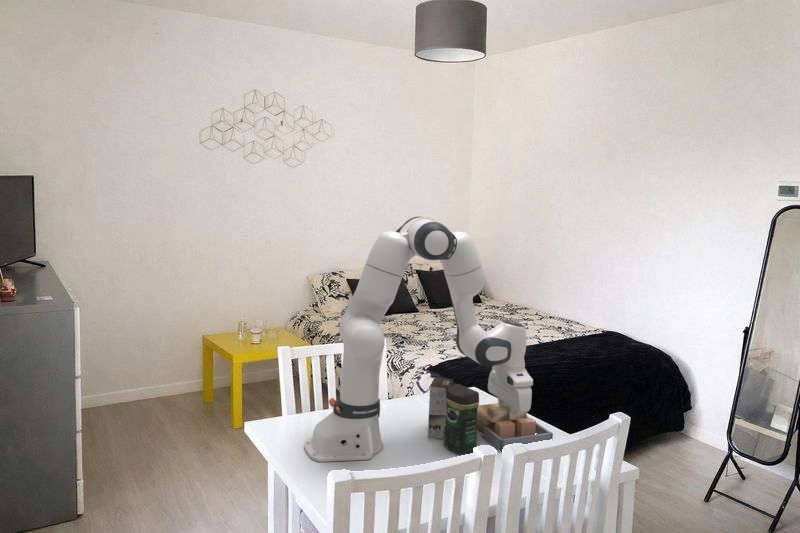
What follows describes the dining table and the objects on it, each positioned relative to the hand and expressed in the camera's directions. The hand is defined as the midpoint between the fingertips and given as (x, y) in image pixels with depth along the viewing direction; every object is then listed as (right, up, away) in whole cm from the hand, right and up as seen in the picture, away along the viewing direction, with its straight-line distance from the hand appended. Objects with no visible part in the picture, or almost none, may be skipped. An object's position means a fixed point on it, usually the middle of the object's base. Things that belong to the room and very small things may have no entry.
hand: (506, 415), depth 196 cm
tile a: (-2, -3, -4) cm, 6 cm away
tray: (+2, -6, -5) cm, 9 cm away
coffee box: (-21, -5, -1) cm, 22 cm away
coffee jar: (-16, -7, -12) cm, 21 cm away
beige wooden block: (0, -1, 0) cm, 1 cm away
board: (-2, -5, +7) cm, 9 cm away
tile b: (+5, -3, -2) cm, 6 cm away
